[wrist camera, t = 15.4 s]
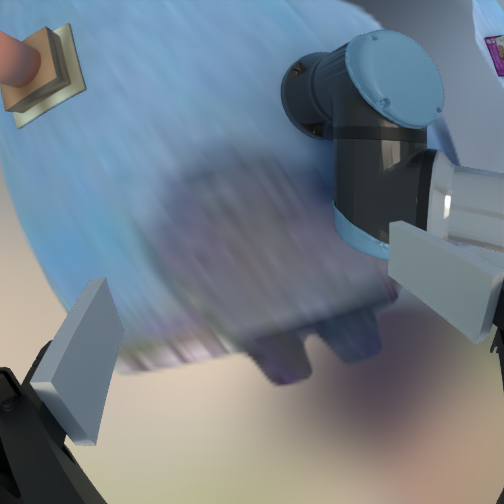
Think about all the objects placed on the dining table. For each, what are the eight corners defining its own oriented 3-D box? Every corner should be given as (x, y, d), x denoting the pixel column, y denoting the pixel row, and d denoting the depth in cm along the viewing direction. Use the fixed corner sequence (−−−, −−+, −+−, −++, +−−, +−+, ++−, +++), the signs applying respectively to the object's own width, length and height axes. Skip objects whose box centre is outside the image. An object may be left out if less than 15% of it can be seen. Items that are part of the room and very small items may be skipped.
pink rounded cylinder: (37, 40, 28) (-2, 18, 17) (44, 73, 30) (2, 56, 19) (5, 62, 28) (-38, 48, 16) (11, 95, 30) (-35, 87, 19)
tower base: (70, 24, 33) (55, 10, 27) (86, 89, 38) (71, 82, 32) (5, 64, 32) (-14, 58, 26) (19, 129, 37) (-1, 128, 31)
